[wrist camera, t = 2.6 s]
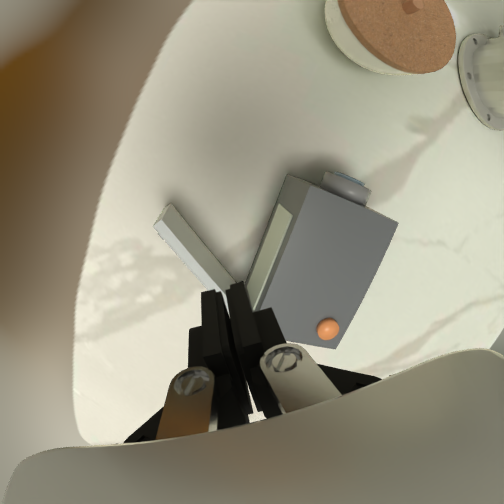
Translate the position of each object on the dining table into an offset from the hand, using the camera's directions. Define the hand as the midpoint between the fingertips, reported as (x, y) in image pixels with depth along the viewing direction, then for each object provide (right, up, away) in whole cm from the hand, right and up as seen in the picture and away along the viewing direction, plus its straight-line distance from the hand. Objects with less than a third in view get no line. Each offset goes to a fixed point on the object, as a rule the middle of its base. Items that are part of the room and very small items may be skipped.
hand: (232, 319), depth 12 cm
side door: (-4, +3, +16) cm, 16 cm away
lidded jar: (+11, +23, +10) cm, 28 cm away
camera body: (+5, +3, +17) cm, 18 cm away
